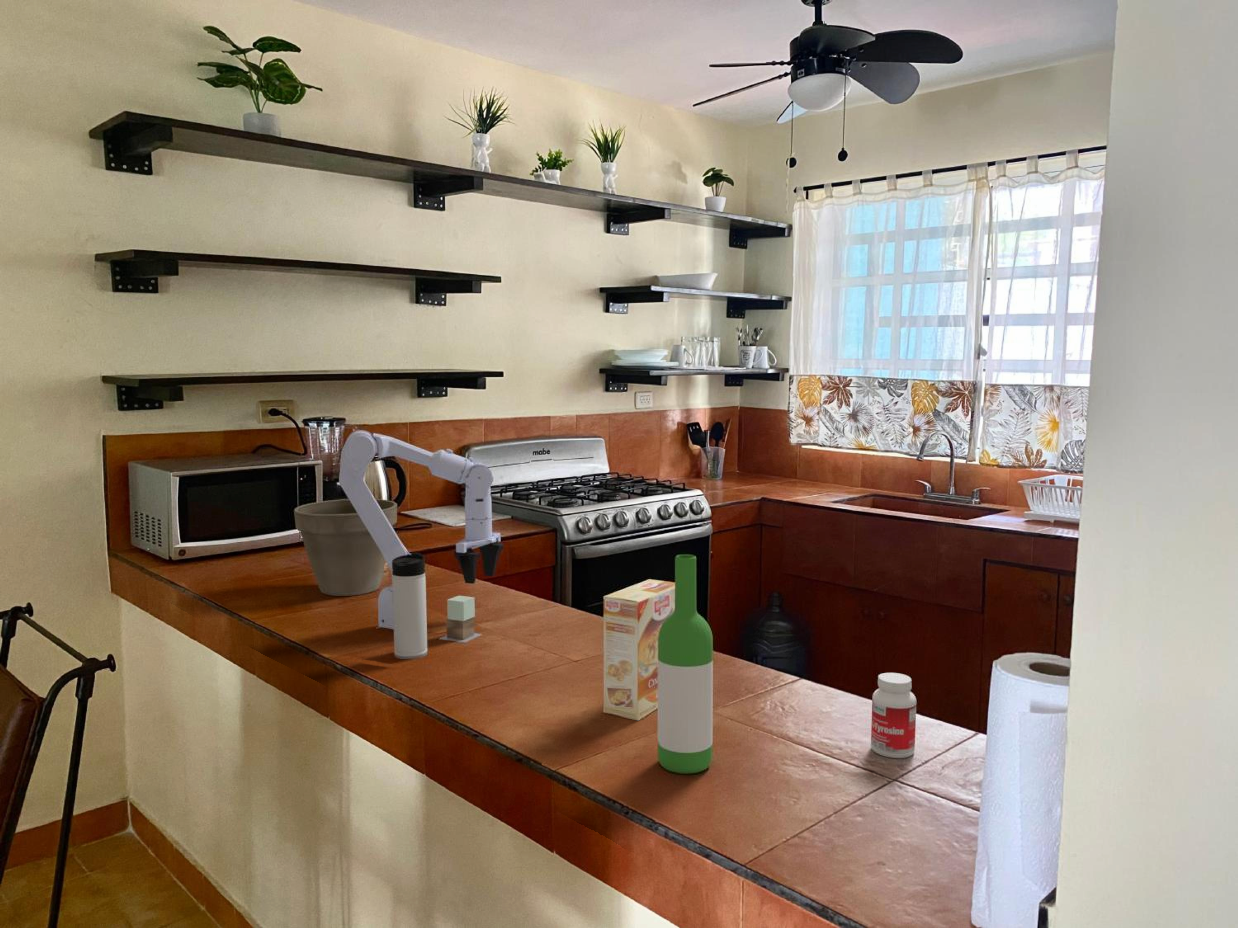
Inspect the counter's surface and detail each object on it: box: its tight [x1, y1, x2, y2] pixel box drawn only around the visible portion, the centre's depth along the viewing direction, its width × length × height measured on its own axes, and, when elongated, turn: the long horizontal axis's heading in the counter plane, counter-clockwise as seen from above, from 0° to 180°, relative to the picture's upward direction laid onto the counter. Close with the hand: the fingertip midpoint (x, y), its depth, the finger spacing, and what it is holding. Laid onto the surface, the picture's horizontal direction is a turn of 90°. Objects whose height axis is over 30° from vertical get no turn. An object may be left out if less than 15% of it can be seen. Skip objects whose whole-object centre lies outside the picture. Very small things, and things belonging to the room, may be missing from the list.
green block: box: [446, 595, 476, 621], centre depth 193 cm, size 4×4×4 cm
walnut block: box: [446, 617, 475, 640], centre depth 193 cm, size 4×4×4 cm
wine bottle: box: [657, 553, 714, 775], centre depth 131 cm, size 8×8×30 cm
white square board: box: [438, 632, 483, 644], centre depth 193 cm, size 12×12×1 cm
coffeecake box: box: [602, 578, 675, 721], centre depth 156 cm, size 15×7×20 cm, turn 148°
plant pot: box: [293, 498, 398, 597], centre depth 236 cm, size 25×25×22 cm
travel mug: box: [391, 552, 428, 660], centre depth 181 cm, size 6×7×20 cm
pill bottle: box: [870, 672, 917, 759], centre depth 136 cm, size 6×6×11 cm
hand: (479, 579), depth 205 cm, fingers open, 7 cm apart
